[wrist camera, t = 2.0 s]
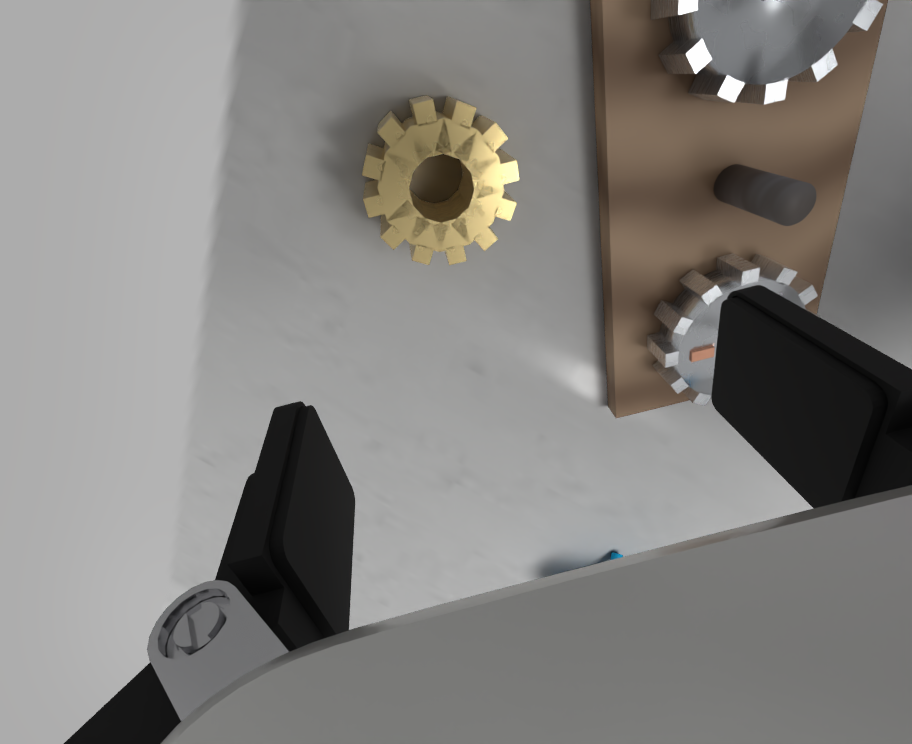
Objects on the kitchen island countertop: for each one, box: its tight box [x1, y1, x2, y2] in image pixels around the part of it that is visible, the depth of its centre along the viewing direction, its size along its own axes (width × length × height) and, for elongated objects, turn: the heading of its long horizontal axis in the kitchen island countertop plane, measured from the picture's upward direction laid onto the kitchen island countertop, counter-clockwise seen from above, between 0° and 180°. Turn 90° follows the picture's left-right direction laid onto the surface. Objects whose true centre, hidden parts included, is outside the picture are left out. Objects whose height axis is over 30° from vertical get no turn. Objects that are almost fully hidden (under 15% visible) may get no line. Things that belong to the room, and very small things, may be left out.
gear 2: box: [647, 253, 819, 405], centre depth 30 cm, size 10×10×5 cm
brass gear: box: [362, 95, 519, 265], centre depth 24 cm, size 7×7×4 cm
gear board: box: [590, 0, 888, 418], centre depth 25 cm, size 30×14×6 cm, turn 12°
